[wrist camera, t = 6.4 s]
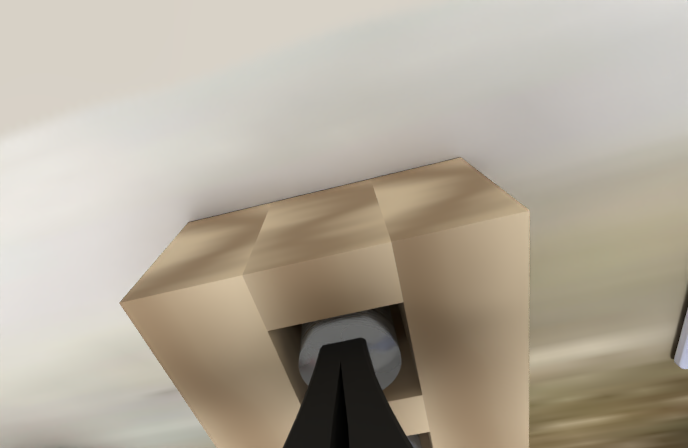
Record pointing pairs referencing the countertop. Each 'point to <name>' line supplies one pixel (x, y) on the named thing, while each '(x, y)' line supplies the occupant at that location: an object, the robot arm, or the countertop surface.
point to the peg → (351, 326)
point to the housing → (351, 305)
